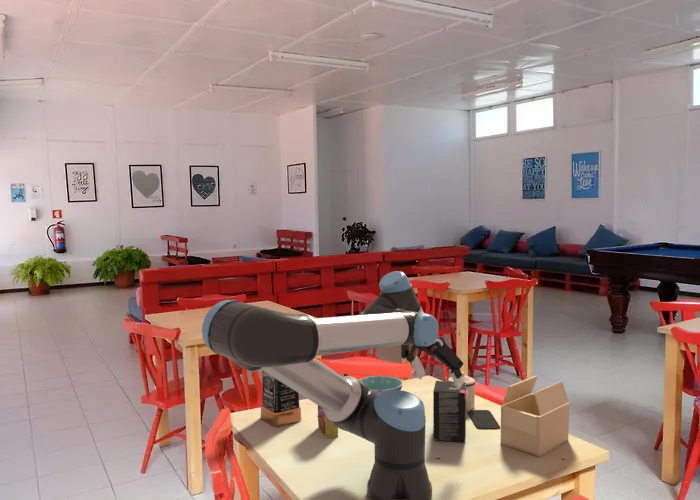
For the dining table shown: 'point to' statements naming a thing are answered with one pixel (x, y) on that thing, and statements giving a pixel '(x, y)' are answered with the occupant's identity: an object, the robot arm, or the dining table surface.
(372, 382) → the bowl
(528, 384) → the flap far
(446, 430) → the tampon box
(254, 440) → the dining table surface
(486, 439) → the dining table surface
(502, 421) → the carton
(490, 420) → the phone
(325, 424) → the candy box
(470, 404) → the teacup with lid
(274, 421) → the whiskey bottle
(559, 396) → the flap near
